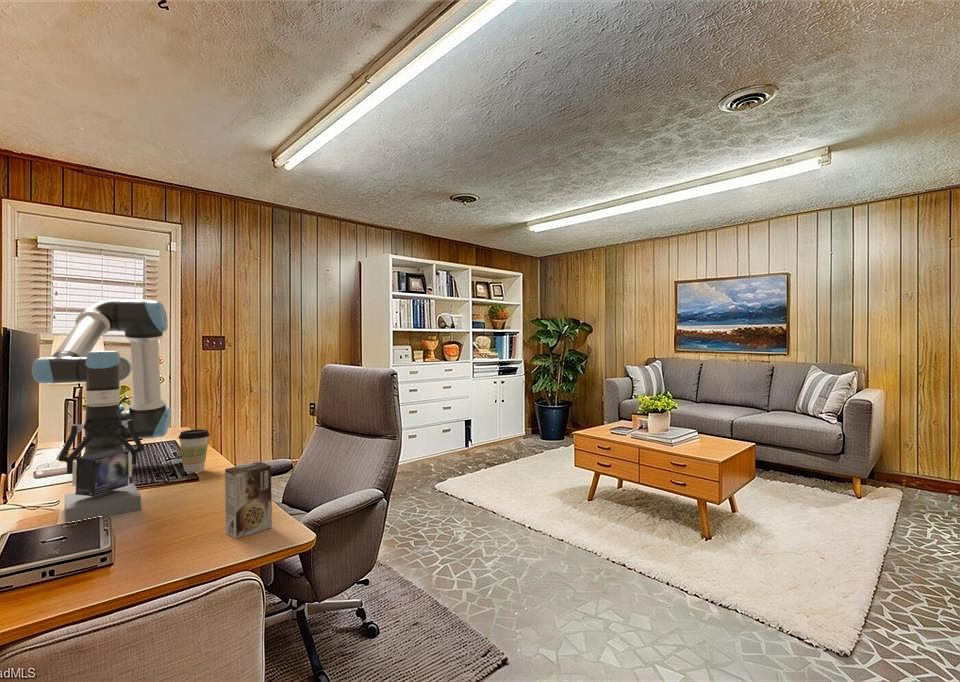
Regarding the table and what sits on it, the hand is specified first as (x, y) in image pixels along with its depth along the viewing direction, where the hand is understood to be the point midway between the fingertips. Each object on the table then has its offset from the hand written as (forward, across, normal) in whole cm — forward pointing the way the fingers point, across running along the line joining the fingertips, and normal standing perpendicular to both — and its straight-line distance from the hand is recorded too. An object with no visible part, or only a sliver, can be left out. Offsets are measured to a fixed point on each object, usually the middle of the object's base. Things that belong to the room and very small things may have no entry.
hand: (102, 480), depth 134 cm
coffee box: (+8, +26, -45) cm, 53 cm away
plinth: (+8, 0, 0) cm, 8 cm away
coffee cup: (+8, +28, +27) cm, 40 cm away
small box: (+3, 0, 0) cm, 3 cm away
